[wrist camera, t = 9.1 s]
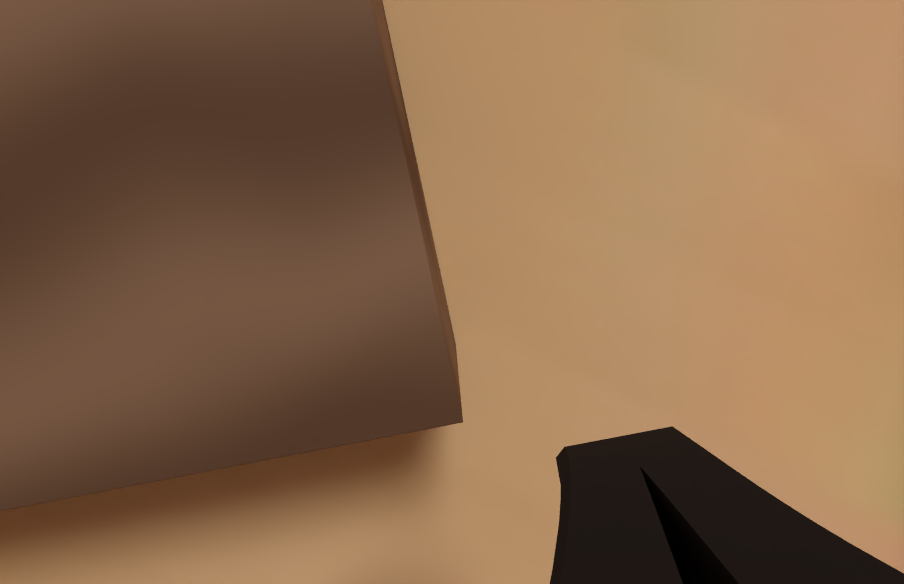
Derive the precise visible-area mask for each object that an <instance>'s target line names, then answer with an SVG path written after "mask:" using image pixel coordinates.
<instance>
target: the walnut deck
mask: <svg viewBox="0 0 904 584" xmlns="http://www.w3.org/2000/svg"><path fill="white" fill-rule="evenodd" d="M461 422H463V418H462V407H461V396H460V386H459V375H458V364H457V354H456V344H455V339H454V334H453V330H452V325H451V320H450V316H449V311H448V306H447V302H446V297H445V292H444V288H443V283H442V278H441V274H440V269H439V264H438V259H437V255H436V250H435V245H434V241H433V236H432V231H431V227H430V222H429V217H428V213H427V208H426V203H425V199H424V194H423V189H422V185H421V180H420V175H419V171H418V166H417V161H416V156H415V152H414V147H413V142H412V138H411V133H410V128H409V124H408V119H407V114H406V110H405V105H404V100H403V96H402V91H401V86H400V82H399V77H398V72H397V68H396V63H395V58H394V53H393V49H392V44H391V39H390V35H389V30H388V25H387V21H386V16H385V11H384V7H383V2H382V0H0V511H3V510H8V509H13V508H18V507H24V506H29V505H34V504H39V503H45V502H50V501H55V500H60V499H65V498H71V497H76V496H81V495H86V494H91V493H97V492H102V491H107V490H112V489H117V488H123V487H128V486H133V485H138V484H144V483H149V482H154V481H159V480H164V479H170V478H175V477H180V476H185V475H190V474H196V473H201V472H206V471H211V470H217V469H222V468H227V467H232V466H237V465H243V464H248V463H253V462H258V461H263V460H269V459H274V458H279V457H284V456H289V455H295V454H300V453H305V452H310V451H316V450H321V449H326V448H331V447H336V446H342V445H347V444H352V443H357V442H362V441H368V440H373V439H378V438H383V437H388V436H394V435H399V434H404V433H409V432H415V431H420V430H425V429H430V428H435V427H441V426H446V425H451V424H456V423H461Z"/></svg>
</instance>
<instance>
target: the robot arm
mask: <svg viewBox="0 0 904 584" xmlns="http://www.w3.org/2000/svg"><path fill="white" fill-rule="evenodd" d="M556 461H557V466H558V472H559V478H560V483H561V503H560V519H559V528H558V535H557V542H556V549H555V556H554V563H553V570H552V575H551V580H550V584H904V574H903V573H902V572H900V571H898V570H896V569H895V568H893V567H891V566H889V565H887V564H886V563H884V562H882V561H880V560H878V559H877V558H875V557H873V556H871V555H870V554H868V553H866V552H864V551H862V550H861V549H859V548H857V547H855V546H854V545H852V544H850V543H848V542H847V541H845V540H843V539H842V538H840V537H838V536H837V535H835V534H833V533H832V532H830V531H828V530H827V529H825V528H823V527H822V526H820V525H818V524H817V523H815V522H813V521H812V520H810V519H809V518H807V517H805V516H804V515H802V514H801V513H799V512H798V511H796V510H794V509H793V508H791V507H790V506H788V505H787V504H785V503H783V502H782V501H780V500H779V499H777V498H776V497H774V496H773V495H771V494H770V493H768V492H767V491H765V490H764V489H762V488H761V487H759V486H758V485H756V484H755V483H753V482H752V481H750V480H749V479H747V478H746V477H744V476H743V475H741V474H740V473H739V472H737V471H736V470H734V469H733V468H731V467H730V466H728V465H727V464H726V463H724V462H723V461H721V460H720V459H718V458H717V457H715V456H714V455H713V454H711V453H710V452H708V451H707V450H705V449H704V448H703V447H701V446H700V445H698V444H697V443H695V442H694V441H692V440H691V439H690V438H688V437H687V436H685V435H684V434H682V433H681V432H679V431H678V430H677V429H675V428H674V427H667V428H662V429H657V430H651V431H646V432H641V433H636V434H630V435H625V436H620V437H615V438H609V439H604V440H599V441H593V442H588V443H583V444H578V445H572V446H567V447H564V448H563V450H562V451H561V452H560V453H559V455H558V456H557V457H556Z"/></svg>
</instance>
